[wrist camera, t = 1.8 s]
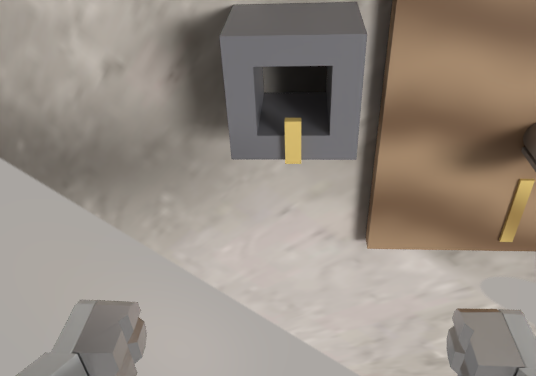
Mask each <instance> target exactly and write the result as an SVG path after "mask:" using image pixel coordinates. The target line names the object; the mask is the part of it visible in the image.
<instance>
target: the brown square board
mask: <svg viewBox="0 0 536 376" xmlns="http://www.w3.org/2000/svg"><path fill="white" fill-rule="evenodd" d="M366 242H367V249H423V250H485V251H536V0H393V1H392V10H391V18H390V27H389V36H388V45H387V54H386V62H385V71H384V80H383V89H382V98H381V106H380V115H379V124H378V133H377V142H376V150H375V159H374V168H373V177H372V186H371V194H370V203H369V212H368V221H367V230H366Z"/></svg>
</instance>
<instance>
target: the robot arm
mask: <svg viewBox="0 0 536 376" xmlns="http://www.w3.org/2000/svg"><path fill="white" fill-rule="evenodd" d="M140 311H141V310H140V307H139V304H138V302H124V301H105V300H80V301H79V302H78V303H77V304H76V305H75V306H74V308H73V310H72V312H71V314H70V316H69V318H68V320H67V322H66V324H65V326H64V328H63V330H62V332H61V334H60V336H59V338H58V340H57V342H56V344H55V345H54V348H53V349H52V351H51V353H44V354H43V355H42V356H40V357H39V358H38V359H37V360H35V361H34V362H33V363H31V364H30V365H29V366H27V367H26V368H25V369H24V370H23V371H21V372H20V373H18V374H17V375H16V376H136V375H137V370H136V367H135V363H136V362H137V361H138V360H139V359H141V358H142V356H143V353H144V349H145V345H146V337H147V333H146V326H145V323H144V321H143V320H142V319H140V318H139V314H140ZM452 319H453V323H454V326H453V327H452V328H450V329H449V331H448V335H447V354H448V359H449V363H450V367H451V368H452V369H453V370H454V371H455V372H456V373H457V374H458V376H536V338H535V336H534V334H533V332H532V329H531V327H530V325H529V323H528V321H527V319H526V317H525V315H524V313H523V312H522V311H521V310H497V309H456V310H455V311H454V314H453V317H452Z"/></svg>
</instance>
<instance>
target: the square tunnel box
mask: <svg viewBox="0 0 536 376" xmlns="http://www.w3.org/2000/svg"><path fill="white" fill-rule="evenodd" d="M219 38H220V48H221V57H222V67H223V77H224V87H225V97H226V107H227V117H228V127H229V137H230V147H231V157H232V159H285V164H301V159H323V160H356V157H357V146H358V134H359V123H360V111H361V100H362V88H363V76H364V65H365V53H366V42H367V32H366V29H365V26H364V23H363V19H362V16H361V13H360V10H359V7H358V4H357V2H335V3H290V4H246V5H233V7H232V9H231V11H230V14H229V16H228V18H227V20H226V23H225V25H224V27H223V29H222V32H221V34H220V36H219ZM267 66H327V81H326V92H303V93H264V78H263V67H267Z"/></svg>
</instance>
